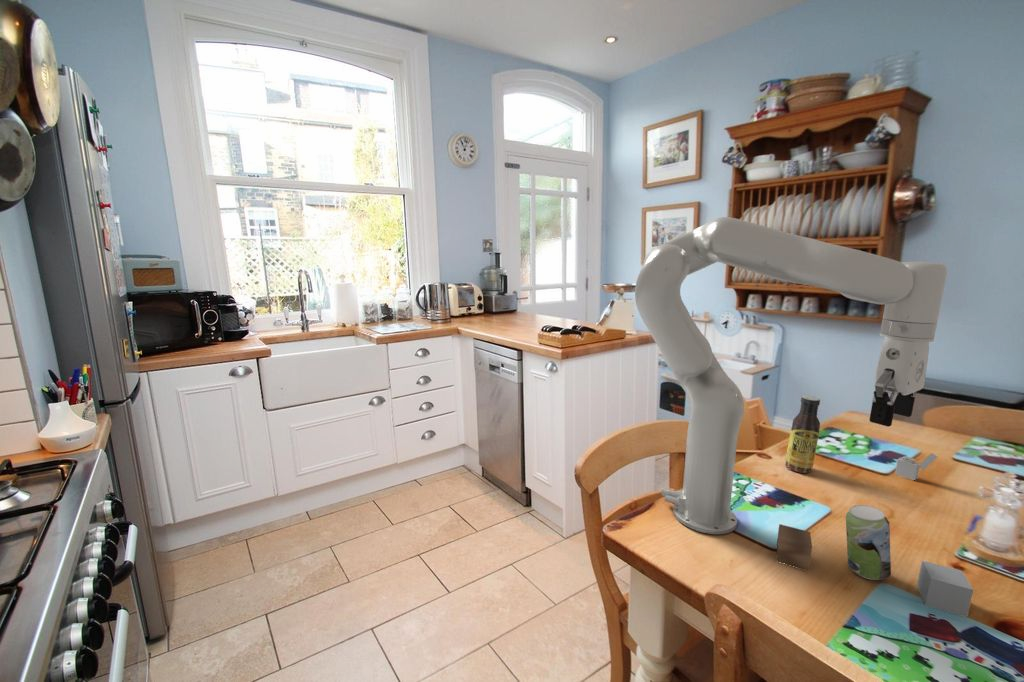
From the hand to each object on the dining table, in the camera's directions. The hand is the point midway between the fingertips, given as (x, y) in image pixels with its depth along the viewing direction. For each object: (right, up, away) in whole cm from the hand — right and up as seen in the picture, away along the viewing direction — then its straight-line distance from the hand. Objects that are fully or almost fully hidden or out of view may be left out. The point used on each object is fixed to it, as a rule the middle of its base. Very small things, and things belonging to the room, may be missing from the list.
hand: (890, 419), depth 85 cm
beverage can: (-9, -27, -5) cm, 29 cm away
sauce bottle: (+4, -19, +34) cm, 40 cm away
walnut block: (-19, -26, -1) cm, 32 cm away
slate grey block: (-1, -28, -11) cm, 30 cm away
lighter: (+30, -21, +29) cm, 47 cm away
